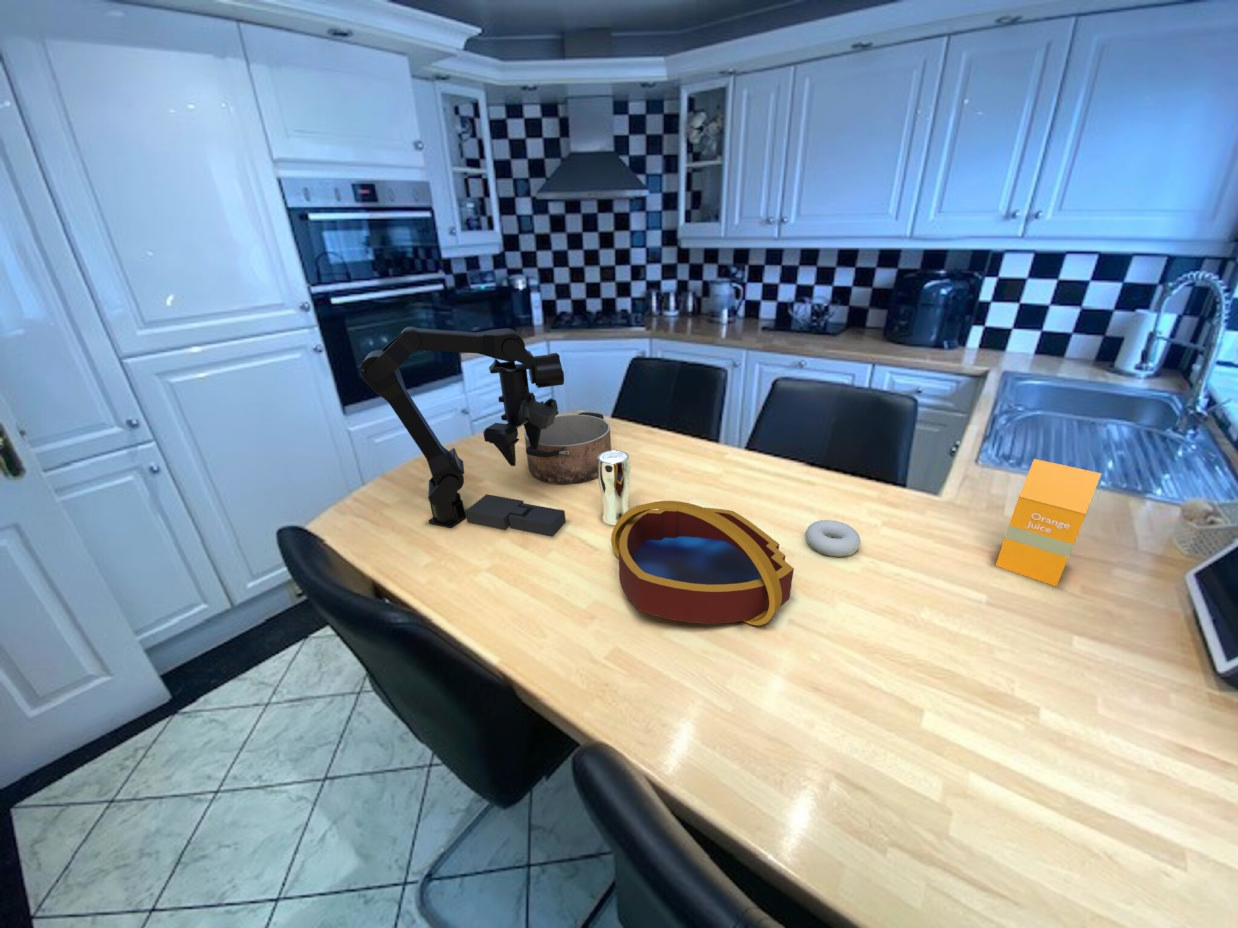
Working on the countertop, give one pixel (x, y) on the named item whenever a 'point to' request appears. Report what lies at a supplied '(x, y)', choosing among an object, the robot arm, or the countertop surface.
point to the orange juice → (1047, 520)
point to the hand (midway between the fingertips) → (524, 457)
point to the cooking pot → (569, 449)
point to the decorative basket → (699, 564)
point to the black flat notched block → (539, 520)
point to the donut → (841, 546)
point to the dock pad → (495, 511)
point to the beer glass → (614, 484)
